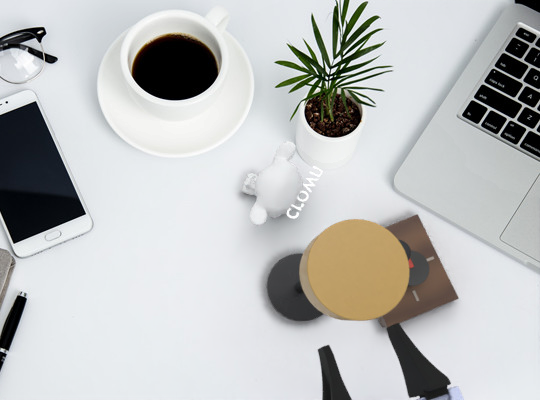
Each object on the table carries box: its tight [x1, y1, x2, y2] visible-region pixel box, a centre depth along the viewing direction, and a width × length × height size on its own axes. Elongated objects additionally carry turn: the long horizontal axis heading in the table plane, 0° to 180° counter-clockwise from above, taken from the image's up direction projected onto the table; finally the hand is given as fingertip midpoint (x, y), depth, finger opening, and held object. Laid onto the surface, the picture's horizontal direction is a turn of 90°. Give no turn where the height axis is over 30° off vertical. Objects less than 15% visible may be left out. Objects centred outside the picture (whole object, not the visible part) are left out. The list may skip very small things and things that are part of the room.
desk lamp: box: [265, 218, 411, 322], centre depth 60 cm, size 9×10×48 cm
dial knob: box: [407, 251, 429, 287], centre depth 78 cm, size 4×4×4 cm
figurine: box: [241, 140, 324, 227], centre depth 82 cm, size 12×8×10 cm
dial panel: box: [377, 214, 459, 329], centre depth 82 cm, size 12×10×3 cm
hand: (358, 335), depth 62 cm, fingers open, 7 cm apart
